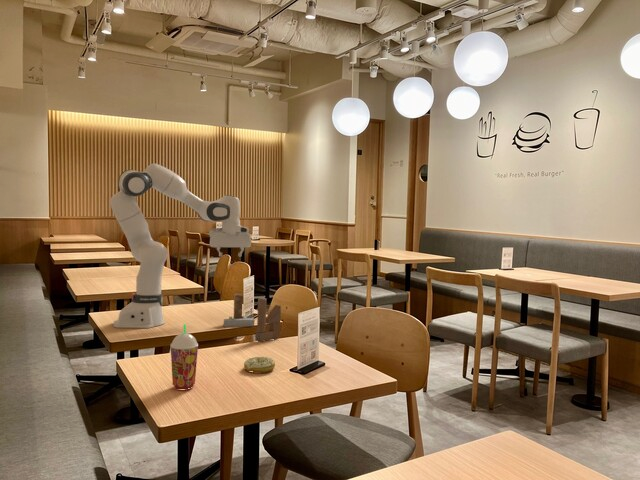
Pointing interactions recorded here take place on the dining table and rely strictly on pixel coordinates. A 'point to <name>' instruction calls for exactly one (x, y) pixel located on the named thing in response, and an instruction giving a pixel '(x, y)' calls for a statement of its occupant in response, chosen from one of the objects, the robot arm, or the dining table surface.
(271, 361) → the decorated donut
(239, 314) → the plank
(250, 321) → the socket
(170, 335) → the dining table surface
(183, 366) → the smoothie
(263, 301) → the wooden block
